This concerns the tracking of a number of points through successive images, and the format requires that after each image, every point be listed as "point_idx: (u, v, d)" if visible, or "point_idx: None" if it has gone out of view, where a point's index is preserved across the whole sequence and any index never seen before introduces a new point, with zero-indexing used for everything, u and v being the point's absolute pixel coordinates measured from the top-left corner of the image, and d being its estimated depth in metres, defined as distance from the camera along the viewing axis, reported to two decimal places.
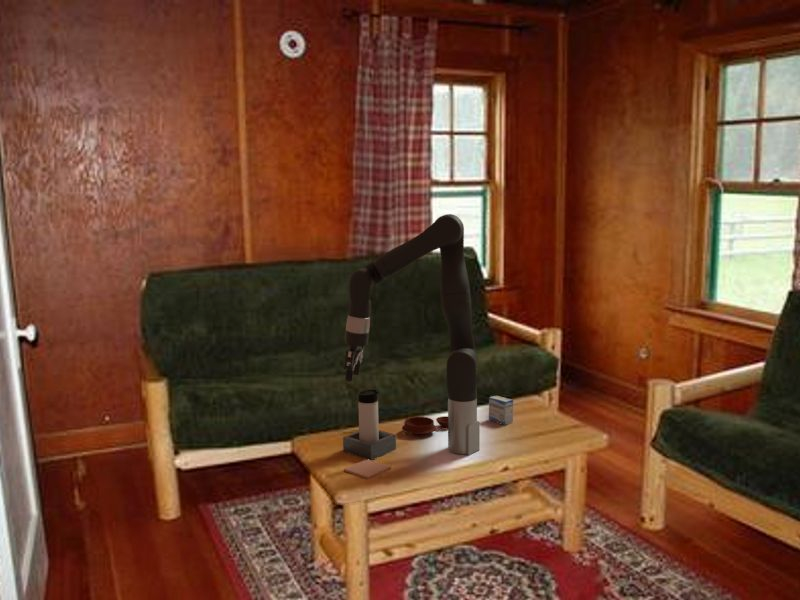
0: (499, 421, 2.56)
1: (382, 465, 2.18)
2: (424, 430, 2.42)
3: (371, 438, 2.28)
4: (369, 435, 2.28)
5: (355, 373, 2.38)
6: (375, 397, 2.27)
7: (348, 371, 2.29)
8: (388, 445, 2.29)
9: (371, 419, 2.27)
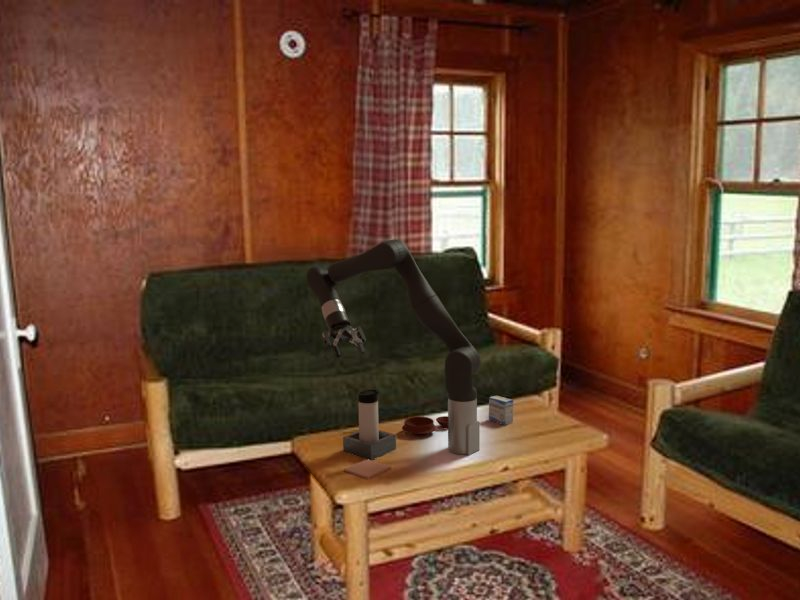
0: (499, 421, 2.56)
1: (382, 465, 2.18)
2: (424, 430, 2.42)
3: (371, 438, 2.28)
4: (369, 435, 2.28)
5: (361, 353, 2.39)
6: (375, 397, 2.27)
7: (333, 349, 2.36)
8: (388, 445, 2.29)
9: (371, 419, 2.27)
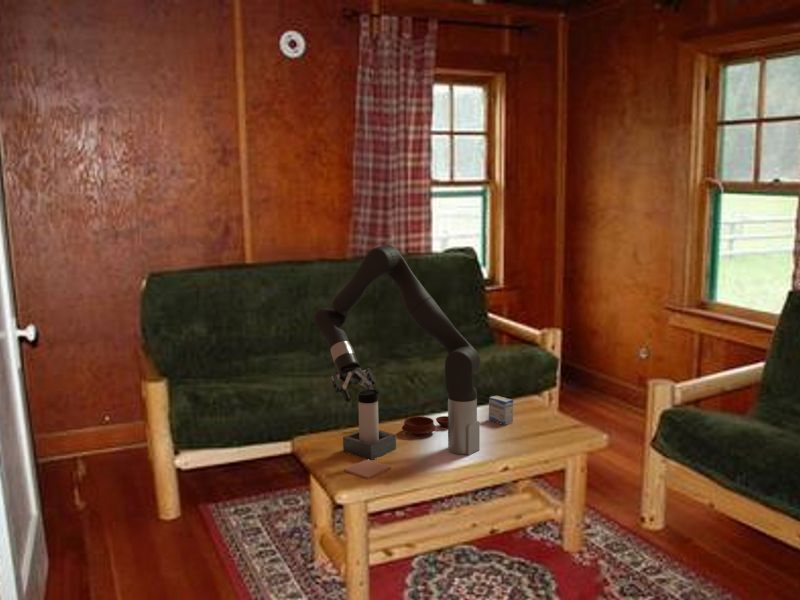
0: (499, 421, 2.56)
1: (382, 465, 2.18)
2: (424, 430, 2.42)
3: (371, 438, 2.28)
4: (369, 435, 2.28)
5: None
6: (375, 397, 2.27)
7: (342, 392, 2.33)
8: (388, 445, 2.29)
9: (371, 419, 2.27)
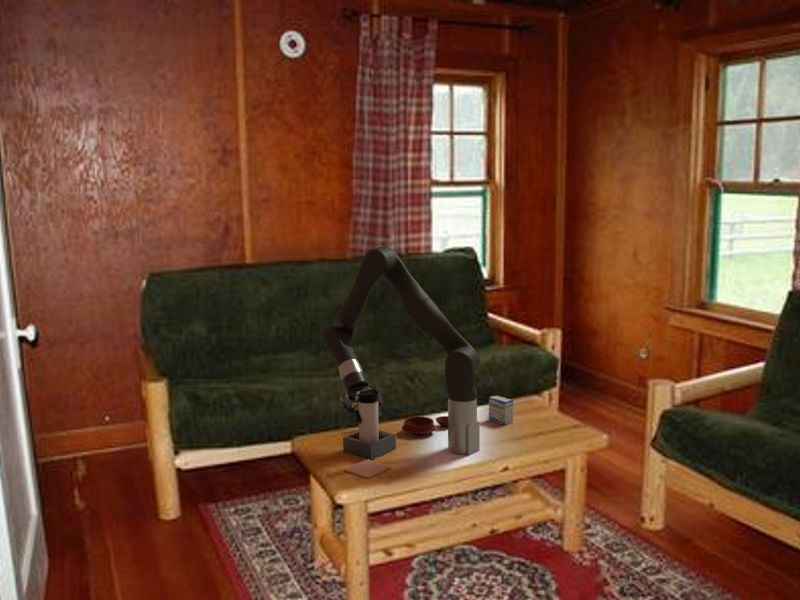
0: (499, 421, 2.56)
1: (382, 465, 2.18)
2: (424, 430, 2.42)
3: (371, 438, 2.28)
4: (369, 435, 2.28)
5: (378, 418, 2.31)
6: (375, 397, 2.27)
7: (353, 413, 2.29)
8: (388, 445, 2.29)
9: (371, 418, 2.27)
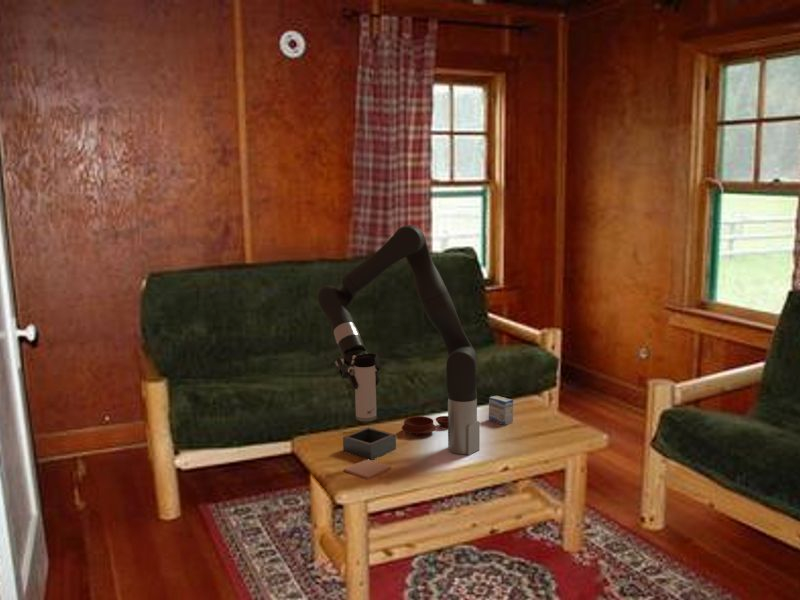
0: (499, 421, 2.56)
1: (382, 465, 2.18)
2: (424, 430, 2.43)
3: (368, 404, 2.14)
4: (366, 401, 2.14)
5: None
6: (372, 361, 2.13)
7: (349, 378, 2.15)
8: (388, 445, 2.29)
9: (368, 384, 2.13)
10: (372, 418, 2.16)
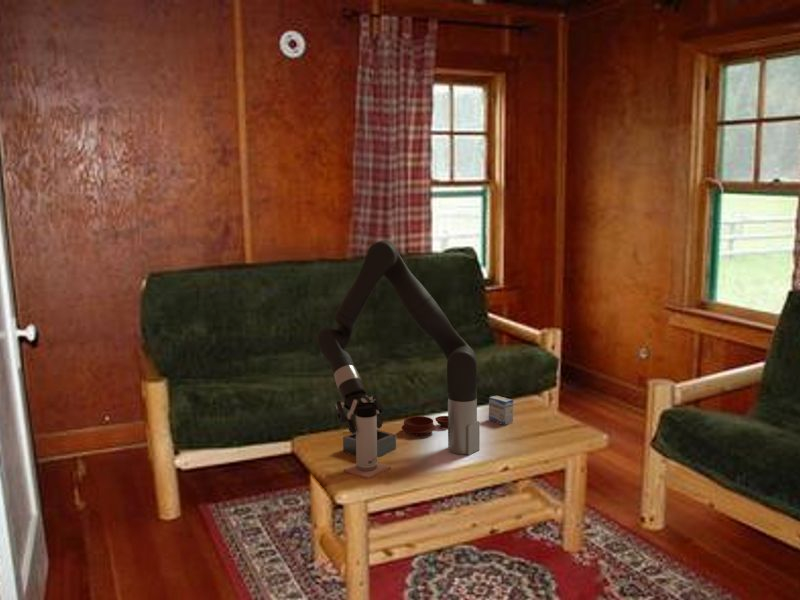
0: (499, 421, 2.56)
1: (382, 465, 2.18)
2: (424, 429, 2.43)
3: (369, 454, 2.13)
4: (367, 451, 2.12)
5: (378, 426, 2.16)
6: (374, 411, 2.11)
7: (347, 423, 2.13)
8: (388, 445, 2.29)
9: (369, 434, 2.11)
10: (373, 468, 2.14)
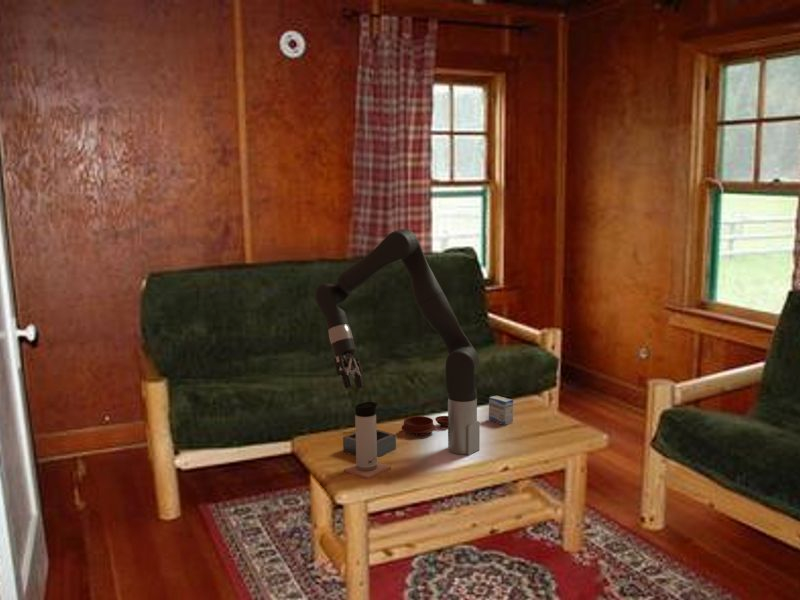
0: (499, 421, 2.56)
1: (382, 465, 2.18)
2: (424, 429, 2.43)
3: (369, 454, 2.13)
4: (367, 451, 2.12)
5: (359, 387, 2.37)
6: (373, 410, 2.12)
7: (344, 377, 2.29)
8: (388, 445, 2.29)
9: (369, 433, 2.12)
10: (373, 467, 2.14)
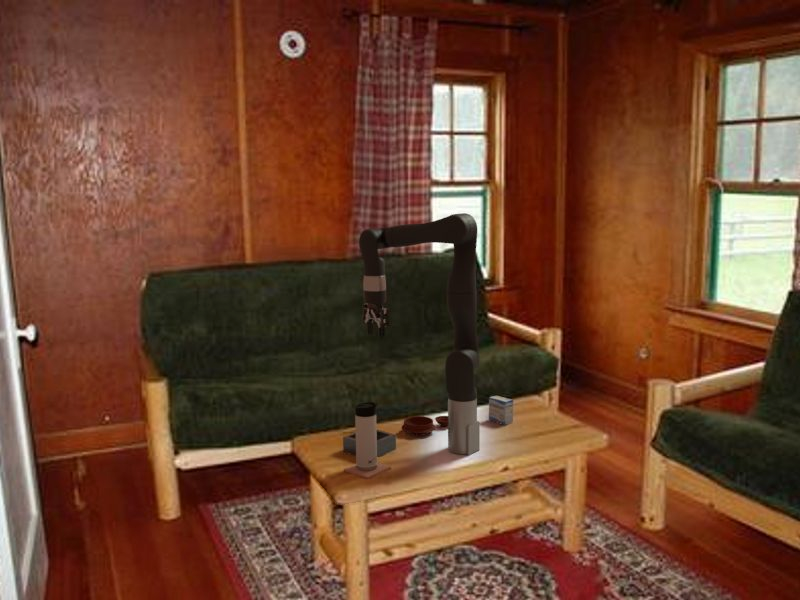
0: (499, 421, 2.56)
1: (382, 465, 2.18)
2: (424, 429, 2.43)
3: (369, 454, 2.13)
4: (367, 451, 2.12)
5: (370, 333, 2.46)
6: (373, 410, 2.12)
7: (382, 328, 2.37)
8: (388, 445, 2.29)
9: (369, 433, 2.12)
10: (373, 467, 2.14)
